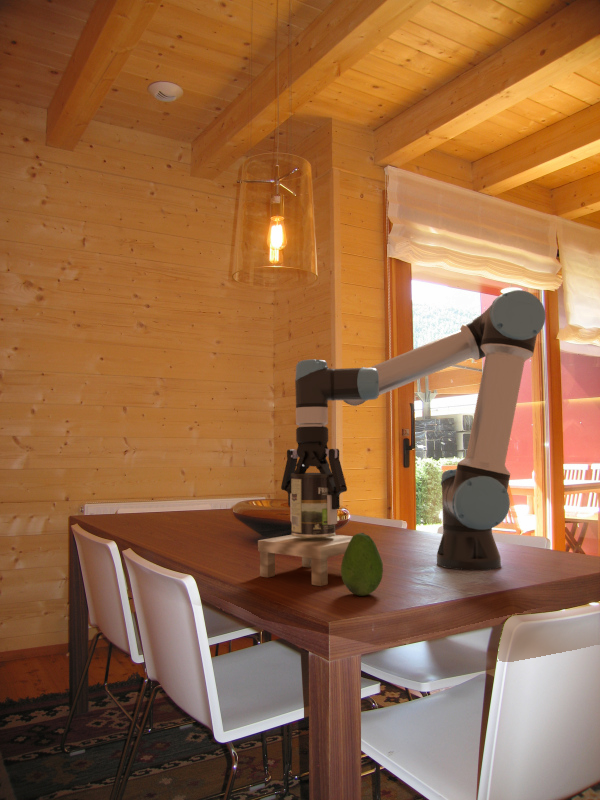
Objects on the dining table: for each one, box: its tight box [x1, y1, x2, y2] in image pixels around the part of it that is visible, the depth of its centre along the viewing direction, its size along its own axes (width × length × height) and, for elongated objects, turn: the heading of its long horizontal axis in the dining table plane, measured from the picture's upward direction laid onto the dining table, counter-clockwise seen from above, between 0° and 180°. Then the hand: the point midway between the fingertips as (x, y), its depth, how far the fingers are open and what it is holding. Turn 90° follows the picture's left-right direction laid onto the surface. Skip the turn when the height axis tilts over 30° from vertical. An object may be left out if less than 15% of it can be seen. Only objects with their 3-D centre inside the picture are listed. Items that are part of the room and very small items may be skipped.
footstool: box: [257, 534, 354, 587], centre depth 140 cm, size 18×18×8 cm
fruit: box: [340, 532, 384, 597], centre depth 120 cm, size 8×8×12 cm
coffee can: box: [290, 472, 336, 538], centre depth 141 cm, size 10×10×14 cm
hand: (313, 522), depth 141 cm, fingers open, 10 cm apart
